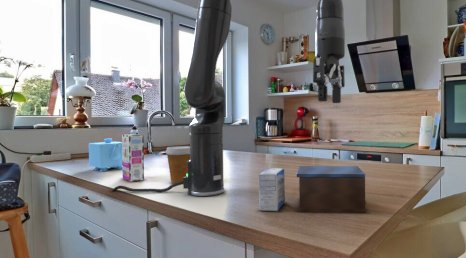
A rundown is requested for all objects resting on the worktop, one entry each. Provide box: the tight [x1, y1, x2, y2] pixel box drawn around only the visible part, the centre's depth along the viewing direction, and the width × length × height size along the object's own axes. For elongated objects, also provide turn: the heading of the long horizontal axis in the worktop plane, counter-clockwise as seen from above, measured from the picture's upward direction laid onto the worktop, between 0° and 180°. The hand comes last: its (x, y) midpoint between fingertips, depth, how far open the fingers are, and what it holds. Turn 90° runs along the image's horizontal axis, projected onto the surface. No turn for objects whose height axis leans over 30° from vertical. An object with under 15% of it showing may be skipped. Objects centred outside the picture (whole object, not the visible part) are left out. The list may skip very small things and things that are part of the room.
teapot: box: [88, 137, 122, 172], centre depth 131 cm, size 22×11×14 cm, turn 52°
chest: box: [298, 176, 366, 214], centre depth 72 cm, size 15×12×8 cm
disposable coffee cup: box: [165, 145, 190, 184], centre depth 102 cm, size 10×10×12 cm
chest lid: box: [296, 165, 366, 178], centre depth 71 cm, size 15×12×1 cm
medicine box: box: [258, 167, 286, 212], centre depth 71 cm, size 8×4×9 cm, turn 168°
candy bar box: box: [121, 134, 145, 183], centre depth 107 cm, size 11×5×16 cm, turn 42°
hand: (329, 102), depth 77 cm, fingers open, 8 cm apart
